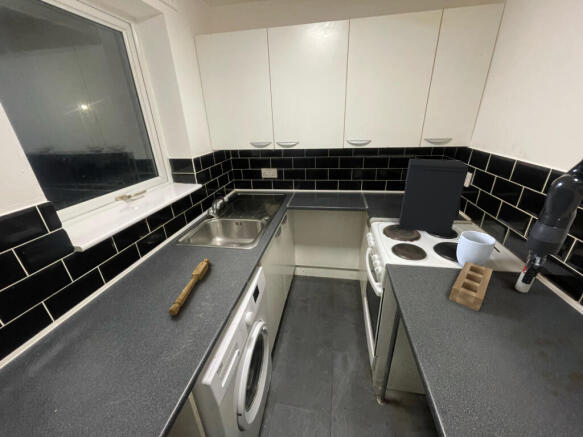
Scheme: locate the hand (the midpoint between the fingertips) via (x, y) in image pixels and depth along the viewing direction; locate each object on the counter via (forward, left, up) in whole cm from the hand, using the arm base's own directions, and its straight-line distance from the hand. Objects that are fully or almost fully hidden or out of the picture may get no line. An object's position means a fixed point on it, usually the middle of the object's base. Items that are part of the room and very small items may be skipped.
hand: (525, 279), depth 79 cm
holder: (+13, +12, -4) cm, 18 cm away
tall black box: (+41, -34, -4) cm, 53 cm away
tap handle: (+90, +80, -4) cm, 120 cm away
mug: (+16, -6, -4) cm, 18 cm away
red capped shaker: (0, 0, -4) cm, 4 cm away
